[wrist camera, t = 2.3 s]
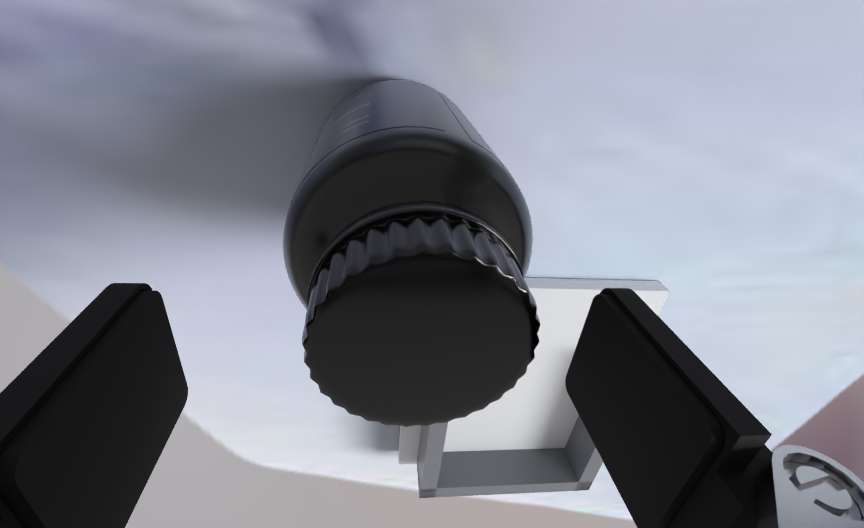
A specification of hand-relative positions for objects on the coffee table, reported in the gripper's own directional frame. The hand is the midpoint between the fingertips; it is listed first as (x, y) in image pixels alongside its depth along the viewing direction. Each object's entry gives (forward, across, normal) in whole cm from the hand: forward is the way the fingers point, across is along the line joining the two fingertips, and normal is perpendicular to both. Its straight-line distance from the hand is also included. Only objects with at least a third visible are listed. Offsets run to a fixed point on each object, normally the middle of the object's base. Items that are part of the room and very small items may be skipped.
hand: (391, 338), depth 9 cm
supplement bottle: (+11, -1, -1) cm, 11 cm away
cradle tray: (+11, -9, +13) cm, 19 cm away
